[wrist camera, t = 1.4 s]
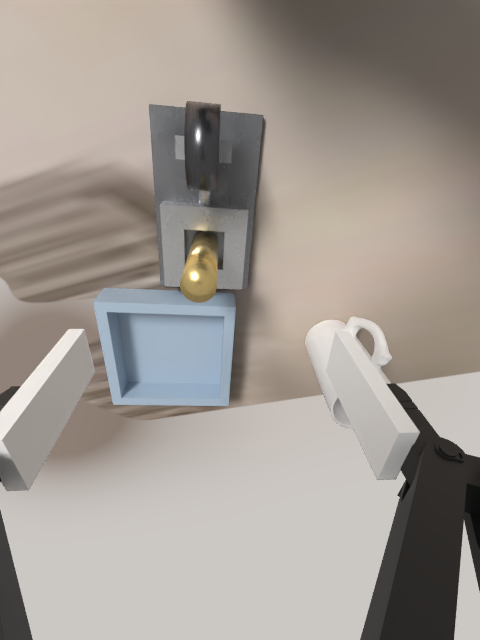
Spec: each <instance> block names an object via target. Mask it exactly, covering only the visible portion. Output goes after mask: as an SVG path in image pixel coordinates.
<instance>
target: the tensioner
mask: <svg viewBox="0 0 480 640" xmlns="http://www.w3.org/2000/svg"><path fill="white" fill-rule="evenodd" d="M149 114H150V129H151V144H152V159H153V174H154V190H155V205H156V220H157V235H158V250H159V265H160V281H161V285H165V286H170V287H180V281H181V277H182V274H183V271H184V267H185V264H186V261H187V257H188V254H189V251H190V247H191V244H192V241H193V238H194V237H195V235H196V234H198V233H200V232H209V233H211V234H213V235H214V236H215V237H216V239H217V241H218V265H217V289H238V290H242V289H247V285H248V274H249V263H250V252H251V242H252V231H253V220H254V210H255V199H256V188H257V177H258V167H259V156H260V145H261V134H262V124H263V115H257V114H247V113H236V112H226V111H221V104H212V103H202V102H192V101H187V103H186V108H183V107H173V106H162V105H152V104H149Z"/></svg>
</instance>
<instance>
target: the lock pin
mask: <svg viewBox="0 0 480 640" xmlns="http://www.w3.org/2000/svg"><path fill="white" fill-rule="evenodd" d="M217 265H218V241H217V239H216V237H215V236H214V235H213V234H211V233H209V232H200V233H198V234H196V235H195V237H194V238H193V241H192V244H191V247H190V251H189V254H188V257H187V261H186V264H185V267H184V271H183V274H182V277H181V281H180V289H181V292H182V294H183V295H184V296H185V297H186V298H187V299H188V300H190V301H192V302H197V303H202V302H206V301H208V300H210V299H211V298H212V297H213V296H214V295H215V293H216V290H217Z"/></svg>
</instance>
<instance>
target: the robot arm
mask: <svg viewBox="0 0 480 640" xmlns="http://www.w3.org/2000/svg"><path fill="white" fill-rule="evenodd" d="M326 372H327V374H328V377H329V379H330V381H331V383H332V385H333V387H334V389H335V391H336V394H337V396H338V398H339V400H340V402H341V404H342V406H343V408H344V410H345V413H346V415H347V417H348V419H349V421H350V423H351V425H352V427H353V430H354V431H355V434H356V436H357V438H358V440H359V442H360V444H361V446H362V449H363V451H364V453H365V455H366V457H367V459H368V461H369V463H370V466H371V468H372V470H373V472H374V474H375V476H376V478H377V480H390V479H396V478H397V476H398V474H399V472H400V470H401V471H402V473H403V474H404V476H405V478H406V480H405V482H404V484H403V486H402V488H401V490H400V492H399V493H398V496H399V497H400V499H399V502H398V506H397V509H396V513H395V517H394V521H393V524H392V528H391V531H390V535H389V538H388V542H387V545H386V549H385V553H384V556H383V560H382V564H381V567H380V571H379V574H378V578H377V581H376V585H375V589H374V592H373V596H372V599H371V603H370V607H369V610H368V614H367V618H366V621H365V625H364V628H363V632H362V635H361V639H360V640H454V631H455V618H456V606H457V595H458V583H459V570H460V558H461V546H462V534H463V522H464V521H465V526H466V530H467V535H468V540H469V544H470V549H471V554H472V558H473V563H474V568H475V572H476V577H477V581H478V586H479V591H480V458H479V457H475V456H471V455H467V454H465V453H464V452H463V450H462V449H461V448H460V447H458V446H457V445H456V444H454V443H453V442H451V441H449V440H447V439H444V438H441V437H439V435H438V434H437V433H436V432H435V430H434V429H433V428H432V426H431V425H430V424H429V422H428V421H427V420H426V418H425V417H424V416H423V414H422V413H421V412H420V410H418V408H417V406H416V405H415V404H414V403H413V402H412V400H411V398H410V397H409V396H408V395H407V393H406V392H405V391H404V390H403V389H401V388H400V387H399V386H397V385H396V384H386V383H385V382H384V380H383V379H382V377H381V376H380V375H379V373H378V372H377V370H376V369H375V367H374V366H373V365H372V363H371V362H370V360H369V359H368V357H367V356H366V355H365V353H364V352H363V350H362V349H361V347H360V346H359V345H358V343H357V342H356V340H355V339H354V337H353V336H352V335H351V333H350V332H349V331H335V335H334V339H333V343H332V347H331V351H330V356H329V360H328V364H327V368H326ZM94 373H95V368H94V365H93V361H92V357H91V353H90V349H89V345H88V341H87V337H86V333H85V329H69V330H68V331H67V332H66V333H65V334H64V336H63V337H62V338H61V339H60V340H59V342H58V343H57V344H56V345H55V346H54V348H53V349H52V350H51V351H50V353H49V354H48V355H47V356H46V357H45V358H44V360H43V361H42V362H41V363H40V365H39V366H38V367H37V368H36V369H35V370H34V372H33V373H32V374H31V375H30V377H29V378H28V379H27V380H26V381H25V382H24V384H23V385H22V386H17V387H16V386H14V387H13V386H12V387H11V388H9V389H8V390H6V391H5V392H4V393H2V394H0V482H2V484H3V486H4V487H5V489H6V490H7V491H21V490H29V489H30V487H31V486H32V484H33V482H34V480H35V478H36V477H37V475H38V473H39V471H40V469H41V467H42V466H43V464H44V462H45V460H46V459H47V457H48V455H49V453H50V452H51V450H52V448H53V446H54V444H55V443H56V441H57V439H58V437H59V435H60V434H61V431H62V430H63V428H64V426H65V425H66V423H67V421H68V419H69V417H70V415H71V414H72V412H73V410H74V408H75V407H76V405H77V403H78V401H79V399H80V398H81V396H82V394H83V392H84V391H85V389H86V387H87V385H88V383H89V382H90V380H91V378H92V376H93V374H94ZM0 640H33V639H32V635H31V631H30V627H29V623H28V619H27V615H26V612H25V607H24V603H23V599H22V595H21V591H20V588H19V583H18V579H17V575H16V571H15V567H14V563H13V560H12V555H11V551H10V547H9V543H8V539H7V535H6V531H5V527H4V523H3V519H2V515H1V511H0Z"/></svg>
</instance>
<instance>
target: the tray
mask: <svg viewBox="0 0 480 640" xmlns="http://www.w3.org/2000/svg"><path fill="white" fill-rule="evenodd" d="M93 303H94V309H95V314H96V319H97V324H98V329H99V334H100V340H101V345H102V350H103V355H104V360H105V365H106V370H107V375H108V380H109V385H110V391H111V396H112V401H113V405H194V406H228V405H229V392H230V379H231V365H232V352H233V339H234V325H235V312H236V303H235V293H215V295H214V296H213V297H212V298H211V299H210V300H208V301H206V302H202V303H197V302H192V301H190V300H188V299H187V298H186V297H185V296H184V295H183V294H182V292H181V291H170V290H147V289H123V288H104V289H103V290H102V291H101V293H100V294H99V295H98V296H97V297H96V299H95V300H94V301H93Z"/></svg>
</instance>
